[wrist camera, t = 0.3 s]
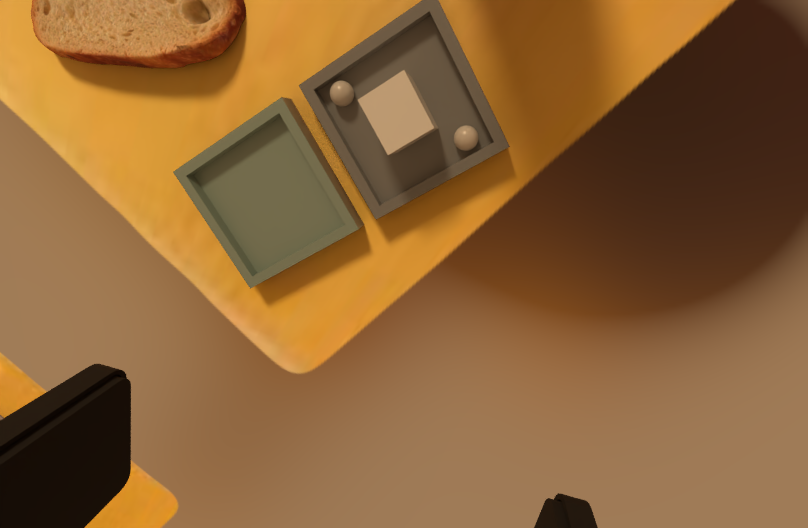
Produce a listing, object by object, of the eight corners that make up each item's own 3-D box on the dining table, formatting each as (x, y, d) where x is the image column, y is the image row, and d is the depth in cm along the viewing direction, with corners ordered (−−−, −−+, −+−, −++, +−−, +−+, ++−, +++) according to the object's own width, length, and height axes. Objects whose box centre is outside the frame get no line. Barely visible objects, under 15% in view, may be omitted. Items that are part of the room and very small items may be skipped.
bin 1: (186, 170, 45) (173, 171, 43) (291, 99, 41) (281, 97, 39) (259, 281, 48) (250, 288, 45) (364, 224, 44) (358, 229, 42)
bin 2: (307, 87, 41) (296, 84, 38) (436, -1, 37) (433, -10, 34) (380, 215, 43) (374, 220, 41) (507, 145, 39) (510, 146, 37)
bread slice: (32, 31, 43) (-7, 22, 40) (108, -144, 38) (70, -173, 34) (171, 151, 45) (146, 153, 41) (264, 1, 39) (244, -12, 36)
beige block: (371, 103, 39) (357, 99, 34) (412, 77, 38) (403, 69, 33) (397, 152, 40) (387, 155, 35) (438, 128, 39) (434, 127, 34)
